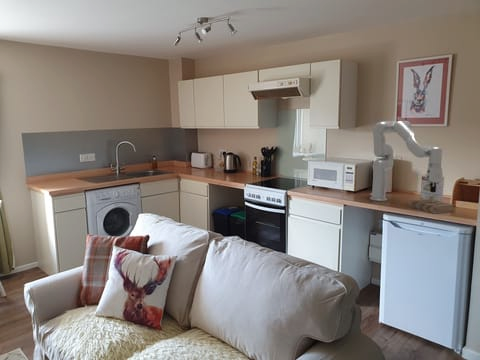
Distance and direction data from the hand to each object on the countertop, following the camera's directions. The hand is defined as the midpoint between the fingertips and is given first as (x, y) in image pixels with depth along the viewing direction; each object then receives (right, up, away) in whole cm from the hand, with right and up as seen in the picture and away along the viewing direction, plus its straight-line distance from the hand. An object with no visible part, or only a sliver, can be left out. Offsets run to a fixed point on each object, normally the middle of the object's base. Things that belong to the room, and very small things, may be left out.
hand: (432, 192), depth 249 cm
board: (0, -12, +2) cm, 12 cm away
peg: (0, -12, +2) cm, 12 cm away
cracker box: (+9, -9, +21) cm, 25 cm away
